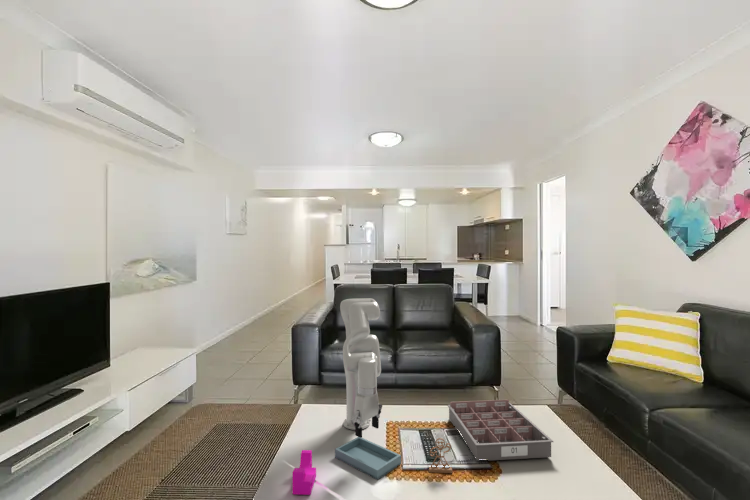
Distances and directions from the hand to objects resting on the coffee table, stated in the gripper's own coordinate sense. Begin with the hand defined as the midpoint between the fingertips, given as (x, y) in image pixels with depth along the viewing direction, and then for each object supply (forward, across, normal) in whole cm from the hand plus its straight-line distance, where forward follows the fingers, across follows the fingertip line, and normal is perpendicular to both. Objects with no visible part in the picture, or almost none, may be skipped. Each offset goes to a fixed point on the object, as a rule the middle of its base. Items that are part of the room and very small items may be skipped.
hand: (367, 431), depth 154 cm
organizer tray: (+12, -50, +31) cm, 60 cm away
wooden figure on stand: (+11, -13, +26) cm, 31 cm away
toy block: (+11, +25, -7) cm, 29 cm away
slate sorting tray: (+11, +1, +1) cm, 11 cm away
